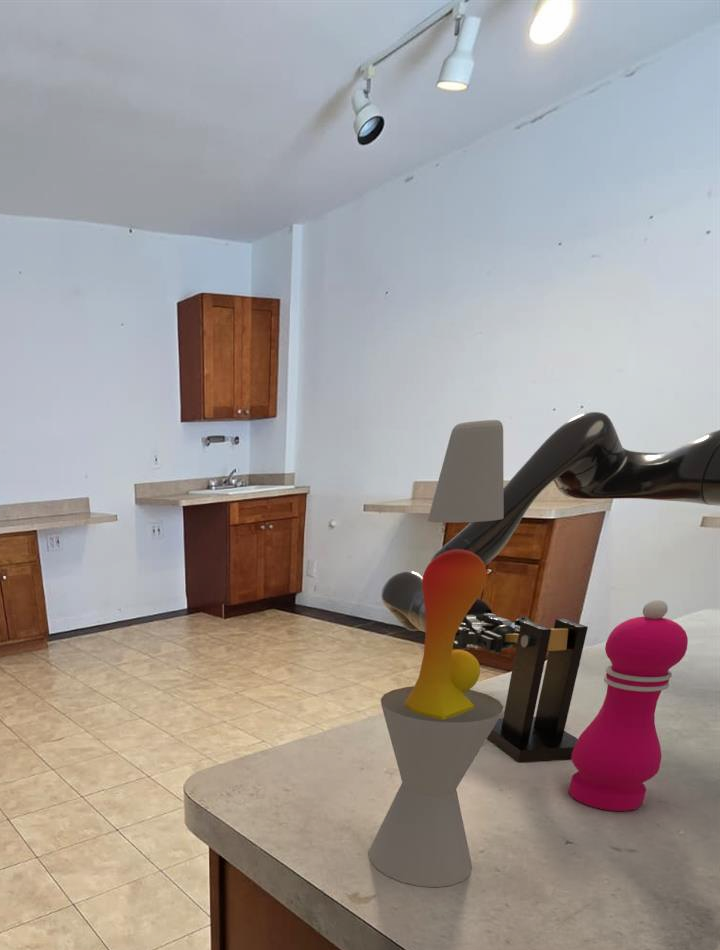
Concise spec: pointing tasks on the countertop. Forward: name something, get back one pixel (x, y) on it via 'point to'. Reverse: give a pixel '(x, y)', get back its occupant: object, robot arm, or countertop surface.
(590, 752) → the pepper mill
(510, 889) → the countertop surface
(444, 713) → the lava lamp
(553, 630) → the switch lever
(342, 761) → the countertop surface
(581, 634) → the switch bracket
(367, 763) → the countertop surface
